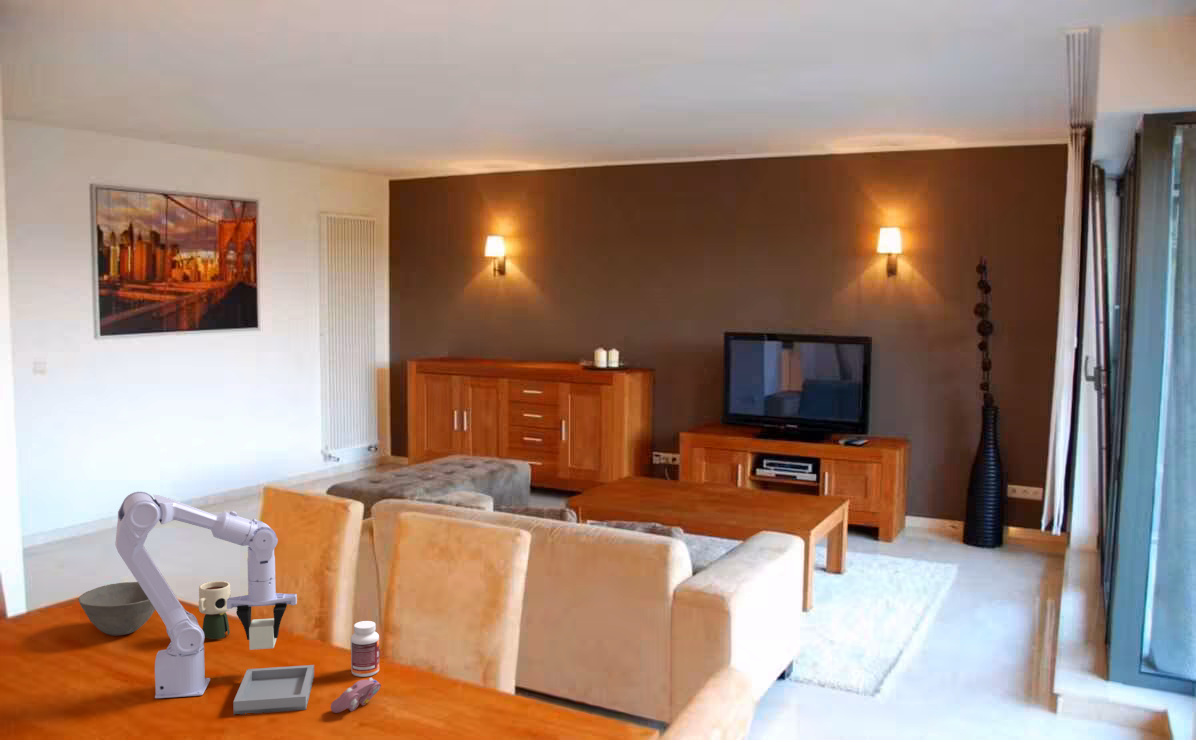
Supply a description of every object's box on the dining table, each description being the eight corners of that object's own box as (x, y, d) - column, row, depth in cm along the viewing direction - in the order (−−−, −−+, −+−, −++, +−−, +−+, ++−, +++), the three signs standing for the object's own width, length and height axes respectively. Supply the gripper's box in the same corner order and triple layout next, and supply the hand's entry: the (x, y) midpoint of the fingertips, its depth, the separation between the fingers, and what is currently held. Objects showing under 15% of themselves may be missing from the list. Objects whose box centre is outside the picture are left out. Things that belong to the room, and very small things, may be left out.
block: (249, 649, 205) (249, 627, 205) (252, 641, 210) (252, 619, 210) (273, 648, 206) (273, 626, 206) (276, 639, 211) (275, 618, 211)
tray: (233, 714, 189) (233, 701, 189) (247, 681, 205) (247, 669, 204) (305, 709, 192) (305, 696, 191) (314, 677, 207) (313, 664, 207)
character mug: (213, 646, 223) (211, 593, 222) (188, 643, 225) (186, 590, 224) (242, 630, 234) (241, 580, 233) (218, 627, 236) (217, 577, 235)
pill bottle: (383, 673, 209) (383, 626, 208) (356, 680, 206) (356, 631, 205) (373, 664, 215) (373, 617, 214) (347, 670, 211) (346, 622, 210)
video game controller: (341, 724, 189) (352, 698, 187) (327, 709, 191) (337, 683, 189) (376, 705, 197) (387, 680, 195) (362, 691, 199) (373, 666, 197)
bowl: (142, 647, 223) (141, 606, 222) (64, 646, 223) (62, 605, 222) (178, 619, 241) (177, 581, 240) (106, 617, 242) (104, 580, 241)
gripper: (297, 570, 212) (298, 628, 213) (230, 573, 209) (231, 632, 210) (294, 580, 205) (295, 640, 206) (224, 583, 202) (225, 644, 203)
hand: (262, 637), depth 208 cm, fingers closed on block, 5 cm apart
